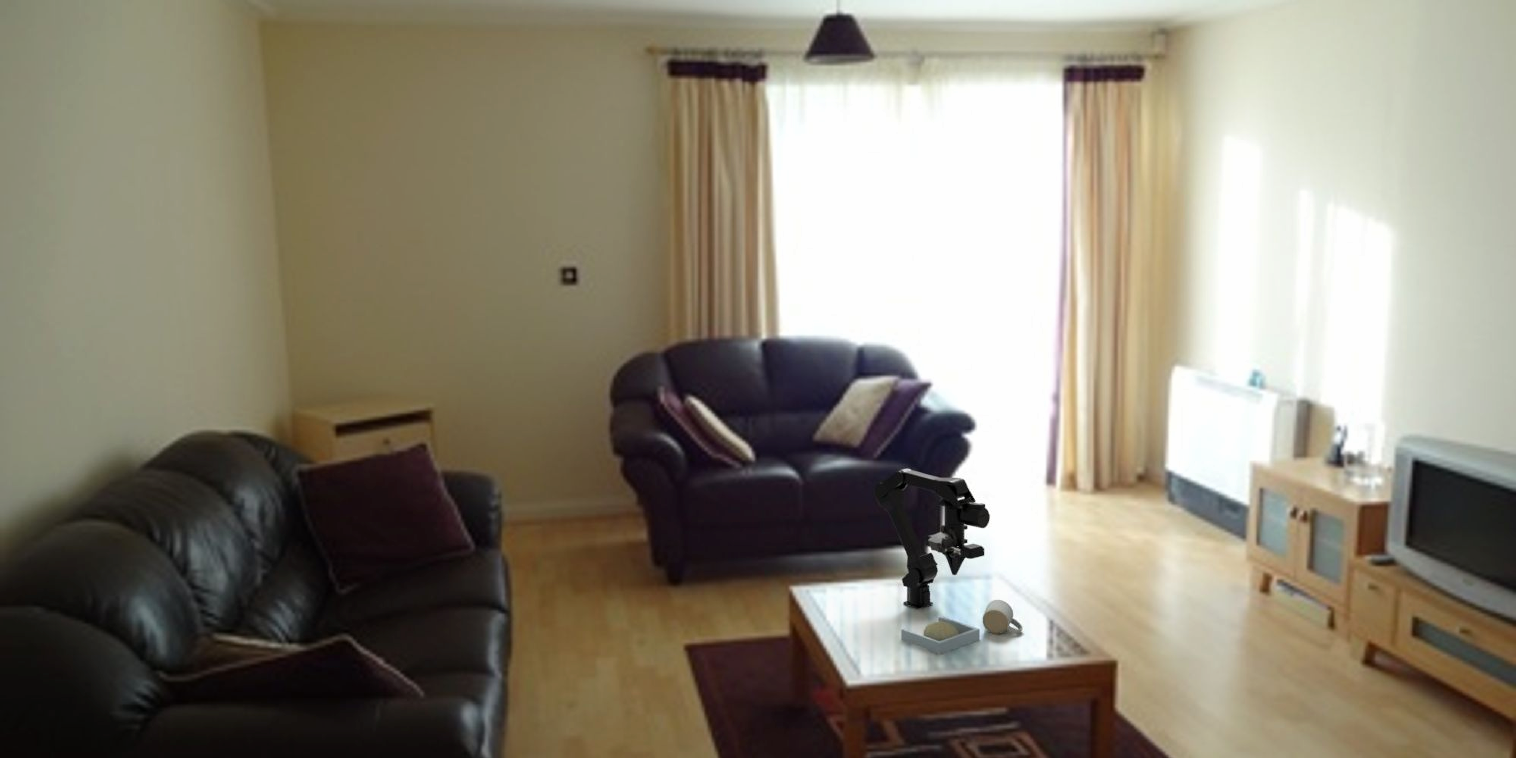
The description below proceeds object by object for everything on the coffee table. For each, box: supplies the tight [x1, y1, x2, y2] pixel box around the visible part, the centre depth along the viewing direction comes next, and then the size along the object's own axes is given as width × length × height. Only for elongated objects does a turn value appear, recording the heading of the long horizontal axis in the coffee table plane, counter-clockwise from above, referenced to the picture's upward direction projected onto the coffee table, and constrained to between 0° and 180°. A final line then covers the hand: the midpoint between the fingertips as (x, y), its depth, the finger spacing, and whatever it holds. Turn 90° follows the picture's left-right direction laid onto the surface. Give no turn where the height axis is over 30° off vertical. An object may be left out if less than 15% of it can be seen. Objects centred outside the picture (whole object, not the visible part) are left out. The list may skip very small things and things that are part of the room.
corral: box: [900, 615, 981, 655], centre depth 290 cm, size 14×16×3 cm
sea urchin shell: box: [923, 621, 959, 641], centre depth 289 cm, size 9×8×8 cm
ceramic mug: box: [982, 599, 1023, 635], centre depth 295 cm, size 11×8×8 cm
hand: (954, 574), depth 308 cm, fingers closed
